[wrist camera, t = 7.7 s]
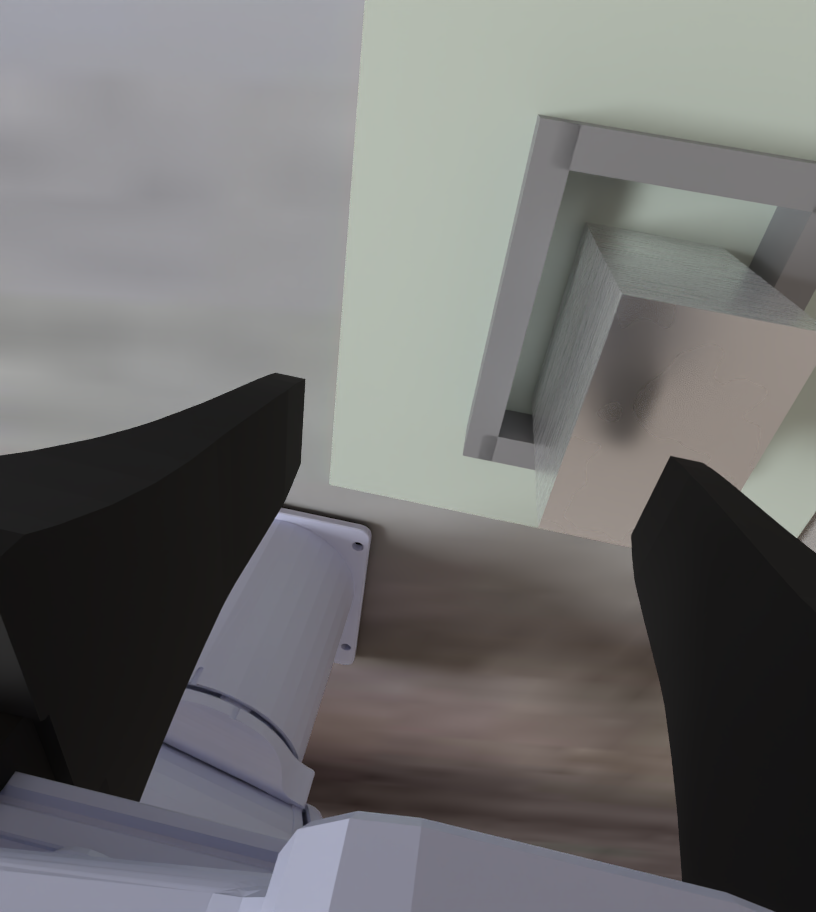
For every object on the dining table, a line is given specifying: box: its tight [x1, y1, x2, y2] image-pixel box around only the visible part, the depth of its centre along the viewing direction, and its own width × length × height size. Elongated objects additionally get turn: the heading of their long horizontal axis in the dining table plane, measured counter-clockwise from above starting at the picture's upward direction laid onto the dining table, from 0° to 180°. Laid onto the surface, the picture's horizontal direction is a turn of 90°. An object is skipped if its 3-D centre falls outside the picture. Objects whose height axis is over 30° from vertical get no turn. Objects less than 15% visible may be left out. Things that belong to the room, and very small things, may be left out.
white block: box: [532, 222, 816, 548], centre depth 15 cm, size 4×6×7 cm, turn 172°
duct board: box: [329, 0, 816, 538], centre depth 17 cm, size 18×18×2 cm
